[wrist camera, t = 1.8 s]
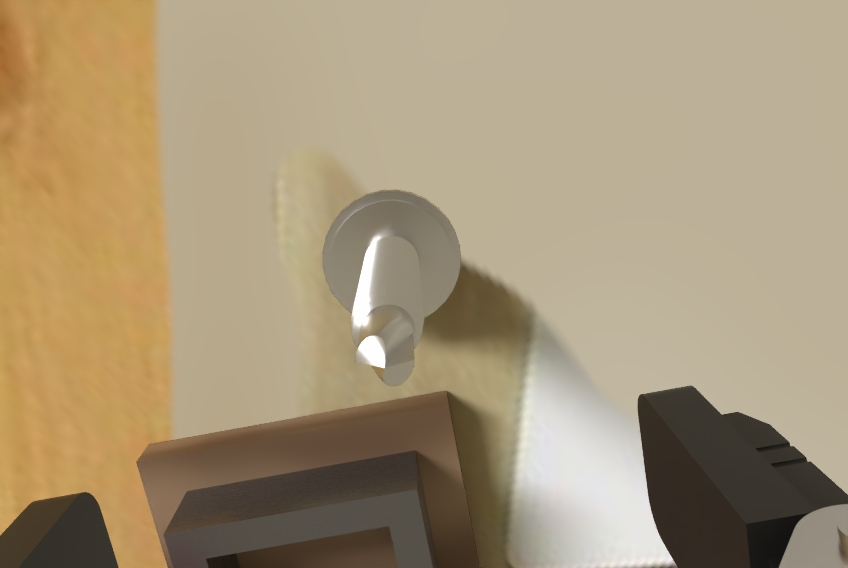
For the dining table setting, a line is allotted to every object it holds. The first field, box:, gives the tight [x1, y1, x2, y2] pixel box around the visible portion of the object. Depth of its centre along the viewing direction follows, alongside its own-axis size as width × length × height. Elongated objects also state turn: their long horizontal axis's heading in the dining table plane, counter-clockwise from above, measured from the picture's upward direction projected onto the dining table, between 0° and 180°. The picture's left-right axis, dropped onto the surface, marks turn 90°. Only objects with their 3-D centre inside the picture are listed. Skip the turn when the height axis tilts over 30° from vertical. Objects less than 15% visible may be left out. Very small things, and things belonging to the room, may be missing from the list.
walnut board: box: [137, 391, 480, 568], centre depth 32 cm, size 12×12×2 cm
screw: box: [323, 190, 461, 386], centre depth 23 cm, size 13×5×5 cm
